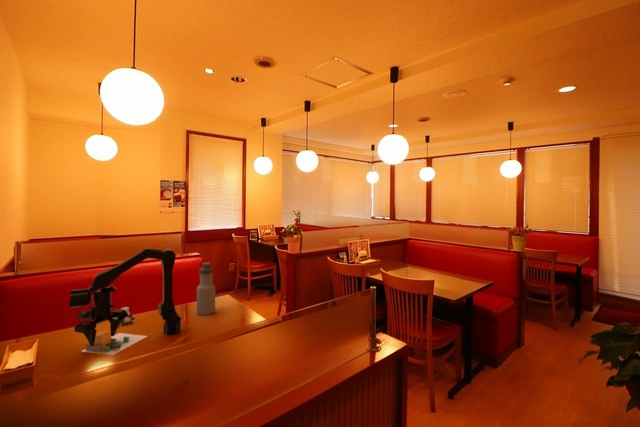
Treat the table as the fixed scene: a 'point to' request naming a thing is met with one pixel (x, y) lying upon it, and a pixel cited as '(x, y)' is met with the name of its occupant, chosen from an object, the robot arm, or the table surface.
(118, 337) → the board
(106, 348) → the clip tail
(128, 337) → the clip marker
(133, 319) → the valve
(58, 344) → the table surface
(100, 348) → the end holder
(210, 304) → the water bottle
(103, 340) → the block
